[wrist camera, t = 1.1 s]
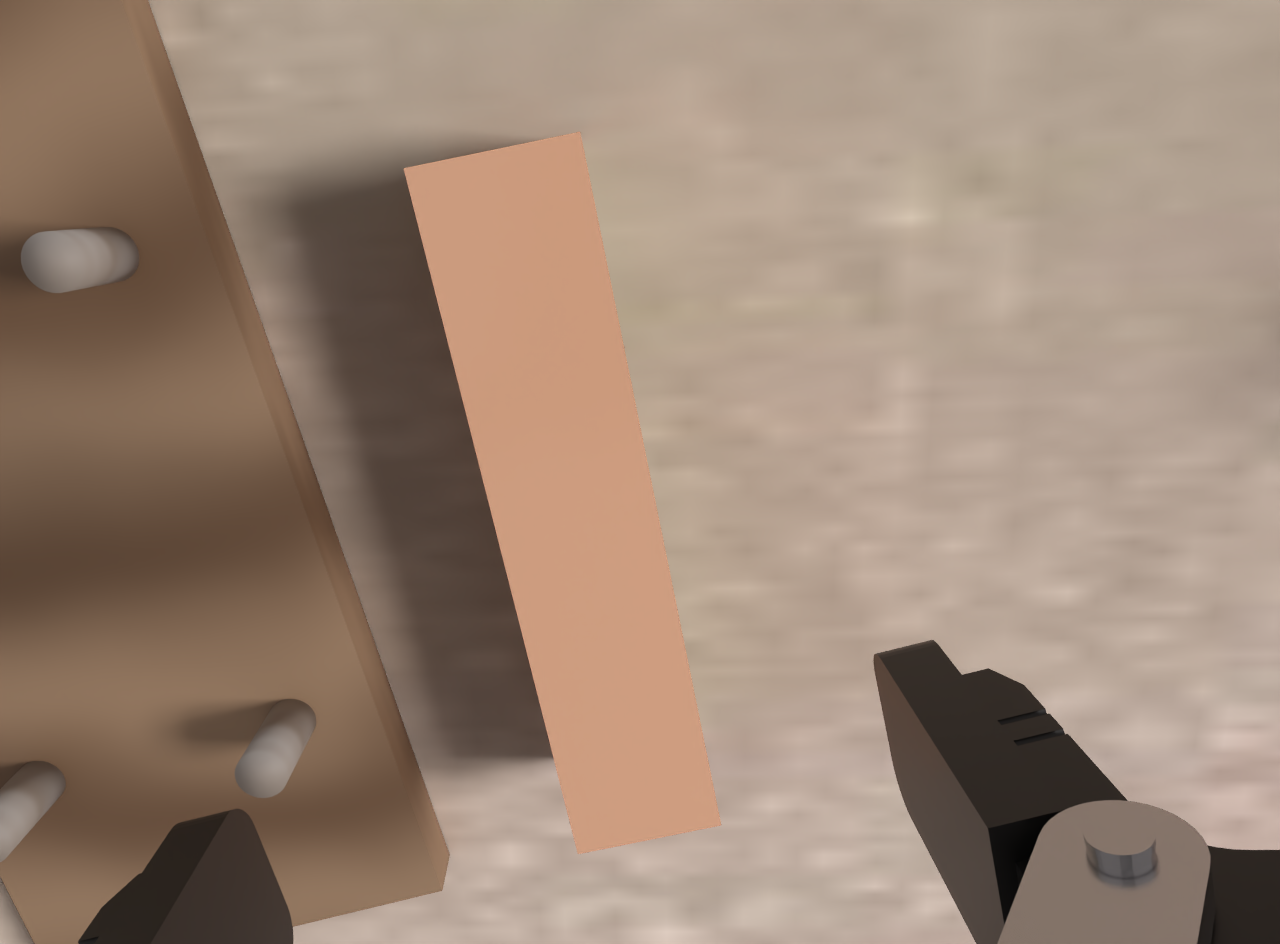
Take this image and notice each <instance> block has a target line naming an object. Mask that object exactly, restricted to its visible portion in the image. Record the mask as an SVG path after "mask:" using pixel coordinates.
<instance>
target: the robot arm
mask: <svg viewBox="0 0 1280 944" xmlns="http://www.w3.org/2000/svg"><path fill="white" fill-rule="evenodd" d="M874 669H875V675H876V680H877V686H878V691H879V696H880V701H881V706H882V711H883V716H884V721H885V726H886V731H887V736H888V741H889V746H890V751H891V756H892V761H893V766H894V770H895V774H896V778H897V781H898V785H899V788H900V791H901V794H902V797H903V800H904V802H905V805H906V808H907V810H908V812H909V814H910V817H911V819H912V821H913V822H914V824H915V826H916V828H917V830H918V832H919V834H920V836H921V838H922V840H923V842H924V844H925V846H926V847H927V849H928V851H929V853H930V855H931V857H932V859H933V861H934V863H935V865H936V867H937V869H938V871H939V873H940V874H941V876H942V878H943V880H944V882H945V884H946V886H947V888H948V890H949V892H950V894H951V896H952V898H953V899H954V901H955V903H956V905H957V907H958V909H959V911H960V913H961V915H962V917H963V919H964V921H965V923H966V924H967V926H968V928H969V930H970V932H971V934H972V936H973V938H974V940H975V942H976V944H1280V850H1233V849H1225V848H1217V847H1212V846H1207V844H1206V842H1205V841H1204V839H1203V837H1202V836H1201V835H1200V834H1199V833H1198V832H1197V830H1196V829H1195V828H1193V827H1192V826H1191V825H1190V824H1188V823H1187V822H1186V821H1185V820H1183V819H1181V818H1179V817H1178V816H1176V815H1174V814H1172V813H1170V812H1168V811H1165V810H1163V809H1160V808H1157V807H1154V806H1151V805H1148V804H1143V803H1138V802H1132V801H1127V799H1126V798H1125V797H1124V796H1123V795H1122V794H1121V793H1120V792H1119V791H1118V789H1117V788H1116V787H1115V786H1114V785H1113V784H1112V783H1111V782H1110V780H1109V779H1108V778H1107V777H1106V776H1105V775H1104V774H1103V773H1102V772H1101V770H1100V769H1099V768H1098V767H1097V766H1096V765H1095V764H1094V763H1093V762H1092V760H1091V759H1090V758H1089V757H1088V756H1087V755H1086V754H1085V753H1084V751H1083V750H1082V749H1081V748H1080V747H1079V746H1078V745H1077V744H1076V743H1075V741H1074V740H1073V739H1072V738H1071V737H1070V736H1069V735H1068V734H1065V733H1064V731H1063V728H1062V727H1061V726H1060V725H1059V724H1058V722H1057V721H1056V720H1055V719H1054V718H1053V717H1052V716H1051V715H1050V714H1047V713H1046V710H1045V708H1044V707H1043V706H1042V705H1041V703H1040V702H1039V701H1038V700H1037V699H1036V698H1035V697H1034V696H1033V695H1032V693H1031V692H1030V691H1029V690H1028V689H1027V688H1026V687H1025V686H1024V685H1023V684H1021V683H1019V682H1017V681H1014V680H1012V679H1010V678H1008V677H1006V676H1004V675H1001V674H999V673H997V672H995V671H993V670H991V669H984V670H980V671H976V672H972V673H968V674H964V675H961V673H960V672H959V671H958V670H957V668H956V667H955V666H954V664H953V663H952V662H951V661H950V659H949V658H948V657H947V655H946V654H945V653H944V652H943V650H942V649H941V648H940V647H939V645H938V644H937V643H936V642H935V641H934V640H930V641H926V642H922V643H918V644H914V645H910V646H906V647H902V648H897V649H893V650H889V651H885V652H881V653H877V654H875V655H874ZM78 943H79V944H293V927H292V920H291V916H290V912H289V909H288V906H287V904H286V901H285V899H284V896H283V894H282V891H281V889H280V886H279V884H278V882H277V879H276V877H275V874H274V872H273V869H272V867H271V864H270V862H269V859H268V857H267V855H266V852H265V850H264V847H263V845H262V842H261V840H260V837H259V835H258V833H257V830H256V828H255V825H254V823H253V821H252V819H251V818H250V816H249V815H248V814H247V813H246V812H245V811H243V810H241V809H233V810H228V811H224V812H220V813H216V814H212V815H208V816H204V817H200V818H196V819H192V820H188V821H183V822H180V823H177V824H176V825H175V826H173V828H172V829H171V830H170V832H169V833H168V835H167V836H166V838H165V839H164V841H163V842H162V844H161V845H160V847H159V848H158V850H157V851H156V852H155V854H154V855H153V857H152V858H151V860H150V861H149V863H148V864H147V866H146V867H145V869H144V870H143V872H142V873H140V874H138V875H137V876H136V877H135V878H133V879H132V880H131V881H130V882H129V883H128V884H127V885H126V886H125V887H123V888H122V889H121V890H120V891H119V892H118V893H117V894H116V895H115V896H114V897H112V898H111V899H110V900H109V901H108V902H107V903H106V904H105V905H104V906H103V907H102V908H101V909H100V910H99V912H98V913H97V915H96V916H95V918H94V919H93V920H92V922H91V923H90V925H89V926H88V928H87V929H86V931H85V932H84V933H83V935H82V936H81V938H80V939H79V941H78Z"/></svg>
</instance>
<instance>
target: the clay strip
mask: <svg viewBox="0 0 1280 944" xmlns="http://www.w3.org/2000/svg"><path fill="white" fill-rule="evenodd" d="M404 172H405V176H406V180H407V184H408V188H409V192H410V196H411V200H412V204H413V208H414V212H415V215H416V219H417V223H418V227H419V231H420V235H421V239H422V243H423V247H424V251H425V255H426V259H427V263H428V267H429V270H430V274H431V278H432V282H433V286H434V290H435V294H436V298H437V302H438V306H439V310H440V314H441V318H442V322H443V325H444V329H445V333H446V337H447V341H448V345H449V349H450V353H451V357H452V361H453V365H454V369H455V373H456V377H457V381H458V384H459V388H460V392H461V396H462V400H463V404H464V408H465V412H466V416H467V420H468V424H469V428H470V432H471V436H472V439H473V443H474V447H475V451H476V455H477V459H478V463H479V467H480V471H481V475H482V479H483V483H484V487H485V491H486V495H487V498H488V502H489V506H490V510H491V514H492V518H493V522H494V526H495V530H496V534H497V538H498V542H499V546H500V550H501V553H502V557H503V561H504V565H505V569H506V573H507V577H508V581H509V585H510V589H511V593H512V597H513V601H514V605H515V609H516V612H517V616H518V620H519V624H520V628H521V632H522V636H523V640H524V644H525V648H526V652H527V656H528V660H529V664H530V667H531V671H532V675H533V679H534V683H535V687H536V691H537V695H538V699H539V703H540V707H541V711H542V715H543V719H544V722H545V726H546V730H547V734H548V738H549V742H550V746H551V750H552V754H553V758H554V762H555V766H556V770H557V774H558V778H559V781H560V785H561V789H562V793H563V797H564V801H565V805H566V809H567V813H568V817H569V821H570V825H571V829H572V833H573V836H574V840H575V844H576V848H577V852H578V854H581V853H586V852H591V851H596V850H601V849H606V848H611V847H616V846H621V845H626V844H631V843H636V842H641V841H646V840H651V839H656V838H661V837H666V836H671V835H676V834H681V833H686V832H691V831H696V830H701V829H706V828H711V827H715V826H720V825H721V821H720V816H719V812H718V807H717V802H716V797H715V792H714V787H713V782H712V777H711V772H710V767H709V762H708V758H707V753H706V748H705V743H704V738H703V733H702V728H701V723H700V718H699V713H698V708H697V704H696V699H695V694H694V689H693V684H692V679H691V674H690V669H689V664H688V659H687V654H686V649H685V645H684V640H683V635H682V630H681V625H680V620H679V615H678V610H677V605H676V600H675V595H674V591H673V586H672V581H671V576H670V571H669V566H668V561H667V556H666V551H665V546H664V541H663V537H662V532H661V527H660V522H659V517H658V512H657V507H656V502H655V497H654V492H653V487H652V482H651V478H650V473H649V468H648V463H647V458H646V453H645V448H644V443H643V438H642V433H641V428H640V424H639V419H638V414H637V409H636V404H635V399H634V394H633V389H632V384H631V379H630V374H629V370H628V365H627V360H626V355H625V350H624V345H623V340H622V335H621V330H620V325H619V320H618V315H617V311H616V306H615V301H614V296H613V291H612V286H611V281H610V276H609V271H608V266H607V261H606V257H605V252H604V247H603V242H602V237H601V232H600V227H599V222H598V217H597V212H596V207H595V203H594V198H593V193H592V188H591V183H590V178H589V173H588V168H587V163H586V158H585V153H584V148H583V144H582V139H581V134H580V132H576V133H571V134H567V135H562V136H557V137H552V138H547V139H542V140H538V141H533V142H528V143H523V144H518V145H513V146H509V147H504V148H499V149H494V150H489V151H484V152H480V153H475V154H470V155H465V156H460V157H455V158H451V159H446V160H441V161H436V162H431V163H426V164H422V165H417V166H412V167H407V168H404Z"/></svg>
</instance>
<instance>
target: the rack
mask: <svg viewBox="0 0 1280 944" xmlns="http://www.w3.org/2000/svg"><path fill="white" fill-rule="evenodd" d="M233 809H241V810H243V811H245V812H246V813H247V814H248V815H249V816H250V818H251V819H252V821H253V823H254V825H255V828H256V830H257V833H258V835H259V837H260V840H261V842H262V845H263V847H264V850H265V852H266V855H267V857H268V859H269V862H270V864H271V867H272V869H273V872H274V874H275V877H276V879H277V882H278V884H279V886H280V889H281V891H282V894H283V896H284V899H285V901H286V904H287V906H288V909H289V912H290V916H291V920H292V927H294V926H298V925H302V924H306V923H310V922H314V921H319V920H323V919H327V918H331V917H335V916H339V915H343V914H348V913H352V912H356V911H360V910H364V909H368V908H372V907H377V906H381V905H385V904H389V903H393V902H397V901H401V900H406V899H410V898H414V897H418V896H422V895H426V894H431V893H435V892H439V891H442V889H443V884H444V880H445V875H446V870H447V865H448V861H449V856H450V854H449V852H448V849H447V846H446V843H445V840H444V837H443V835H442V832H441V829H440V826H439V823H438V820H437V818H436V815H435V812H434V809H433V806H432V803H431V801H430V798H429V795H428V792H427V789H426V787H425V784H424V781H423V778H422V775H421V772H420V770H419V767H418V764H417V761H416V758H415V755H414V753H413V750H412V747H411V744H410V741H409V738H408V736H407V733H406V730H405V727H404V724H403V721H402V719H401V716H400V713H399V710H398V707H397V704H396V702H395V699H394V696H393V693H392V690H391V687H390V685H389V682H388V679H387V676H386V673H385V670H384V668H383V665H382V662H381V659H380V656H379V653H378V651H377V648H376V645H375V642H374V639H373V636H372V634H371V631H370V628H369V625H368V622H367V619H366V617H365V614H364V611H363V608H362V605H361V602H360V600H359V597H358V594H357V591H356V588H355V586H354V583H353V580H352V577H351V574H350V571H349V569H348V566H347V563H346V560H345V557H344V554H343V552H342V549H341V546H340V543H339V540H338V537H337V535H336V532H335V529H334V526H333V523H332V520H331V518H330V515H329V512H328V509H327V506H326V503H325V501H324V498H323V495H322V492H321V489H320V486H319V484H318V481H317V478H316V475H315V472H314V469H313V467H312V464H311V461H310V458H309V455H308V452H307V450H306V447H305V444H304V441H303V438H302V435H301V433H300V430H299V427H298V424H297V421H296V418H295V416H294V413H293V410H292V407H291V404H290V401H289V399H288V396H287V393H286V390H285V387H284V385H283V382H282V379H281V376H280V373H279V370H278V368H277V365H276V362H275V359H274V356H273V353H272V351H271V348H270V345H269V342H268V339H267V336H266V334H265V331H264V328H263V325H262V322H261V319H260V317H259V314H258V311H257V308H256V305H255V302H254V300H253V297H252V294H251V291H250V288H249V285H248V283H247V280H246V277H245V274H244V271H243V268H242V266H241V263H240V260H239V257H238V254H237V251H236V249H235V246H234V243H233V240H232V237H231V234H230V232H229V229H228V226H227V223H226V220H225V217H224V215H223V212H222V209H221V206H220V203H219V200H218V198H217V195H216V192H215V189H214V186H213V183H212V181H211V178H210V175H209V172H208V169H207V167H206V164H205V161H204V158H203V155H202V152H201V150H200V147H199V144H198V141H197V138H196V135H195V133H194V130H193V127H192V124H191V121H190V118H189V116H188V113H187V110H186V107H185V104H184V101H183V99H182V96H181V93H180V90H179V87H178V84H177V82H176V79H175V76H174V73H173V70H172V67H171V65H170V62H169V59H168V56H167V53H166V50H165V48H164V45H163V42H162V39H161V36H160V33H159V31H158V28H157V25H156V22H155V19H154V16H153V14H152V11H151V8H150V5H149V2H148V0H0V877H1V879H2V881H3V883H4V885H5V887H6V889H7V891H8V893H9V895H10V897H11V899H12V901H13V903H14V905H15V907H16V908H17V910H18V912H19V914H20V916H21V918H22V920H23V922H24V924H25V926H26V928H27V930H28V932H29V934H30V936H31V938H32V940H33V942H34V944H79V943H78V941H79V939H80V938H81V936H82V935H83V933H84V932H85V931H86V929H87V928H88V926H89V925H90V923H91V922H92V920H93V919H94V918H95V916H96V915H97V913H98V912H99V910H100V909H101V908H102V907H103V906H104V905H105V904H106V903H107V902H108V901H109V900H110V899H111V898H112V897H114V896H115V895H116V894H117V893H118V892H119V891H120V890H121V889H122V888H123V887H125V886H126V885H127V884H128V883H129V882H130V881H131V880H132V879H133V878H135V877H136V876H137V875H138V874H140V873H142V872H143V870H144V869H145V867H146V866H147V864H148V863H149V861H150V860H151V858H152V857H153V855H154V854H155V852H156V851H157V850H158V848H159V847H160V845H161V844H162V842H163V841H164V839H165V838H166V836H167V835H168V833H169V832H170V830H171V829H172V828H173V826H175V825H176V824H177V823H180V822H183V821H188V820H192V819H196V818H200V817H204V816H208V815H212V814H216V813H220V812H224V811H228V810H233Z"/></svg>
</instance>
